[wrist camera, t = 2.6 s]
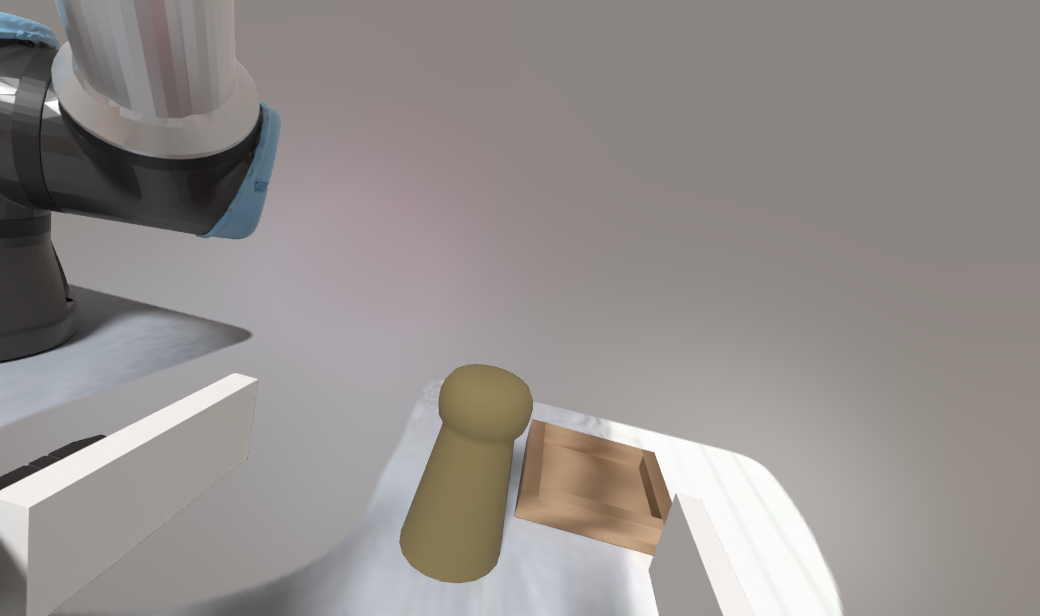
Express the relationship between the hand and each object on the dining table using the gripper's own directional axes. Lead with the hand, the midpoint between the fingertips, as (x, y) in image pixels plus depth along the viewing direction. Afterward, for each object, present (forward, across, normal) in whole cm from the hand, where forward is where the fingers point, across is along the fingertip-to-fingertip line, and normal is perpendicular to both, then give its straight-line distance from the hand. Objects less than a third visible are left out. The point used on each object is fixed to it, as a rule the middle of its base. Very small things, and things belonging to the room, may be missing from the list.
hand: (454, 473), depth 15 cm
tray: (+22, +9, -12) cm, 26 cm away
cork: (+12, 0, -12) cm, 17 cm away
